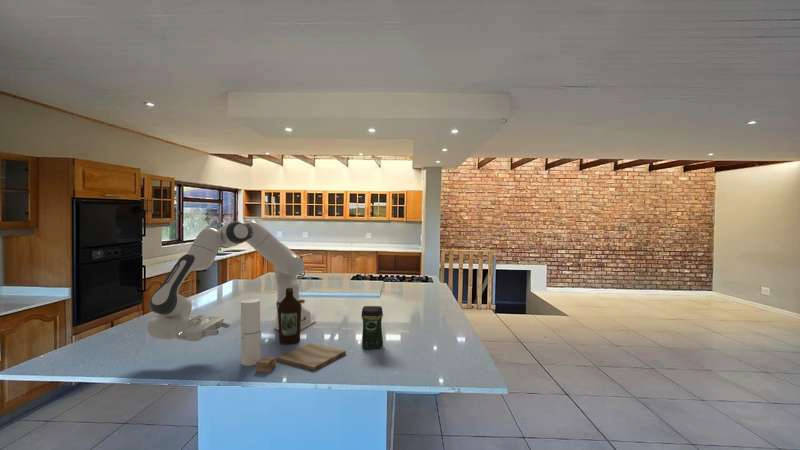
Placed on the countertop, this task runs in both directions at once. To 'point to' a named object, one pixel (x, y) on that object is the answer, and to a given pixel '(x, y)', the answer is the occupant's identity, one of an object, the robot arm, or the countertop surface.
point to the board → (311, 356)
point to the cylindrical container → (250, 331)
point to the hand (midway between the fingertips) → (223, 328)
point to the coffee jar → (372, 327)
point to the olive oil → (289, 319)
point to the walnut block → (265, 364)
